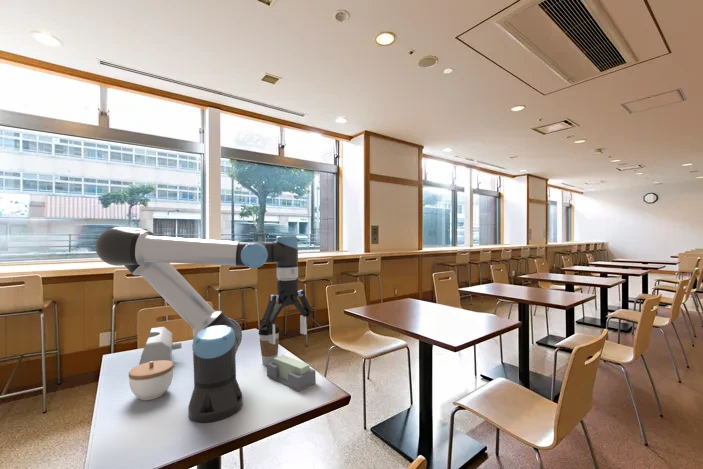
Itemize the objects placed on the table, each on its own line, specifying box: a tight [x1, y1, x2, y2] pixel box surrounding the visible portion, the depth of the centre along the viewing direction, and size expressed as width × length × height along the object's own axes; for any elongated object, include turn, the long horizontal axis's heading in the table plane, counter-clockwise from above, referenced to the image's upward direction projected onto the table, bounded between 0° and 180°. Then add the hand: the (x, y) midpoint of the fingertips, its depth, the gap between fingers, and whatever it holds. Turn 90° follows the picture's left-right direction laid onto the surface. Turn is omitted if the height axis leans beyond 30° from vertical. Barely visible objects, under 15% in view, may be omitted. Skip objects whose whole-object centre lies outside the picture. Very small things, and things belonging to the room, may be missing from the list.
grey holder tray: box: [266, 361, 317, 392], centre depth 115 cm, size 8×18×4 cm, turn 48°
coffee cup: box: [258, 322, 281, 366], centre depth 131 cm, size 8×8×15 cm
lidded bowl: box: [128, 360, 174, 401], centre depth 107 cm, size 13×13×11 cm
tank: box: [138, 326, 182, 365], centre depth 133 cm, size 25×16×12 cm, turn 28°
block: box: [274, 354, 311, 380], centre depth 115 cm, size 15×4×6 cm, turn 50°
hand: (288, 338), depth 115 cm, fingers open, 13 cm apart
